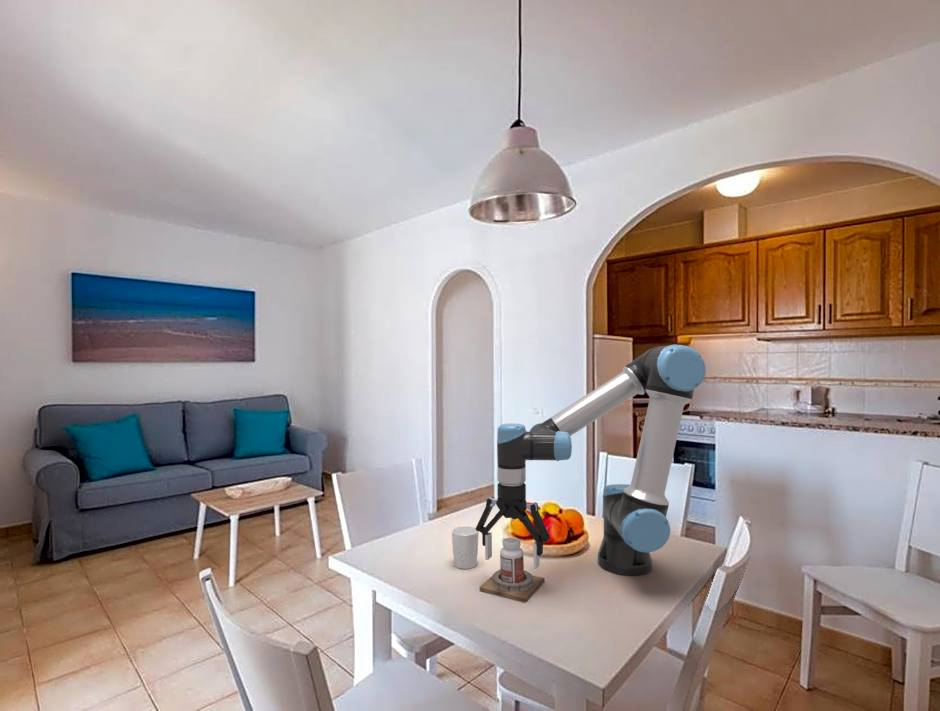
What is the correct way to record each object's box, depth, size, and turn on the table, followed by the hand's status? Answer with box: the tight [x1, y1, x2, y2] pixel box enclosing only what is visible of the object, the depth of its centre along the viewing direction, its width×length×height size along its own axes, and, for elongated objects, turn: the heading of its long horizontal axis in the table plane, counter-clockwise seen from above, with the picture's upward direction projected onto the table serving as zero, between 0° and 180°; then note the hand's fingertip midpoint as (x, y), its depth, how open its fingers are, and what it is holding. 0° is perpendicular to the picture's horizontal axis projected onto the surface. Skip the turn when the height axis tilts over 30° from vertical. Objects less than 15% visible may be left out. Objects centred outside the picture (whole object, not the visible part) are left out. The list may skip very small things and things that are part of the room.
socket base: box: [478, 568, 546, 603], centre depth 129 cm, size 13×13×2 cm
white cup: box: [451, 525, 479, 570], centre depth 144 cm, size 8×8×10 cm
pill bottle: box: [499, 537, 525, 583], centre depth 129 cm, size 6×6×11 cm
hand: (512, 562), depth 130 cm, fingers open, 13 cm apart
